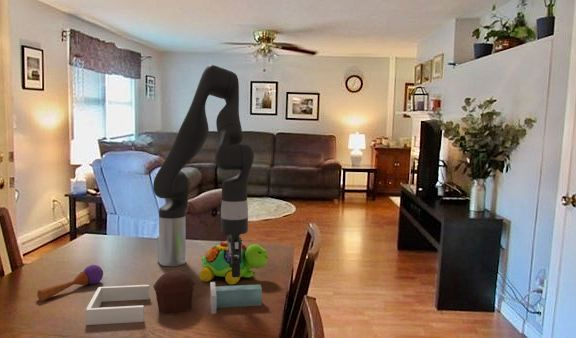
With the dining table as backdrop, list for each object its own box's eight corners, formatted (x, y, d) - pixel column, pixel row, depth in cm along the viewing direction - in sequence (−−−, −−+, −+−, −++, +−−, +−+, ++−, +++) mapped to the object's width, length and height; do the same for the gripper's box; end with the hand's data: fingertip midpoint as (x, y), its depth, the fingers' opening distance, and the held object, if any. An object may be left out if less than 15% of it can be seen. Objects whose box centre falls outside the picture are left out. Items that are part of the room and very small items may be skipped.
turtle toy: (260, 289, 147) (261, 252, 146) (191, 282, 152) (191, 246, 150) (273, 271, 163) (274, 238, 162) (210, 265, 168) (210, 233, 167)
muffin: (161, 298, 137) (160, 265, 136) (198, 300, 137) (198, 266, 136) (147, 316, 126) (147, 279, 124) (189, 317, 125) (189, 281, 124)
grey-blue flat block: (258, 296, 141) (258, 279, 141) (263, 311, 131) (263, 293, 130) (210, 298, 139) (210, 282, 138) (211, 314, 128) (211, 296, 127)
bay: (149, 297, 138) (149, 284, 137) (143, 321, 122) (143, 306, 122) (98, 300, 135) (98, 287, 135) (86, 325, 119) (85, 309, 119)
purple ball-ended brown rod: (32, 285, 135) (93, 262, 152) (37, 305, 136) (97, 280, 153) (44, 286, 132) (104, 262, 149) (49, 306, 132) (108, 280, 149)
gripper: (250, 220, 125) (250, 279, 127) (245, 210, 139) (245, 263, 141) (222, 221, 124) (222, 281, 126) (219, 211, 138) (219, 264, 140)
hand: (234, 271), depth 133 cm, fingers open, 8 cm apart
